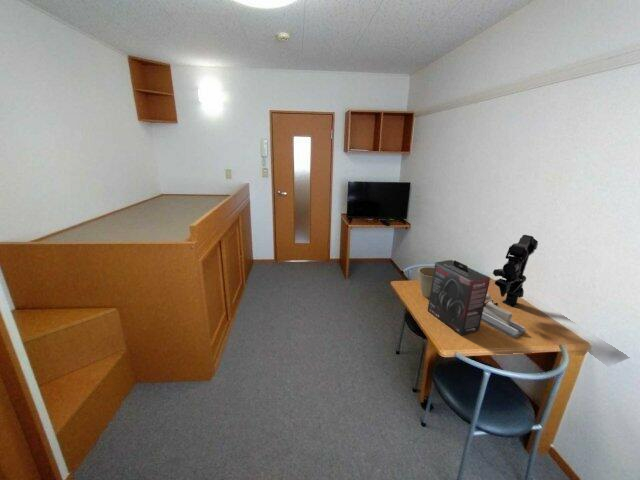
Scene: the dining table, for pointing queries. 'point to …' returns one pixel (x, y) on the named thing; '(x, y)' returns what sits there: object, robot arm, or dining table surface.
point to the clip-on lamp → (489, 301)
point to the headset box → (458, 296)
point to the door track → (503, 326)
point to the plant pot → (426, 280)
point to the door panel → (498, 313)
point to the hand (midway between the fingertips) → (507, 294)
